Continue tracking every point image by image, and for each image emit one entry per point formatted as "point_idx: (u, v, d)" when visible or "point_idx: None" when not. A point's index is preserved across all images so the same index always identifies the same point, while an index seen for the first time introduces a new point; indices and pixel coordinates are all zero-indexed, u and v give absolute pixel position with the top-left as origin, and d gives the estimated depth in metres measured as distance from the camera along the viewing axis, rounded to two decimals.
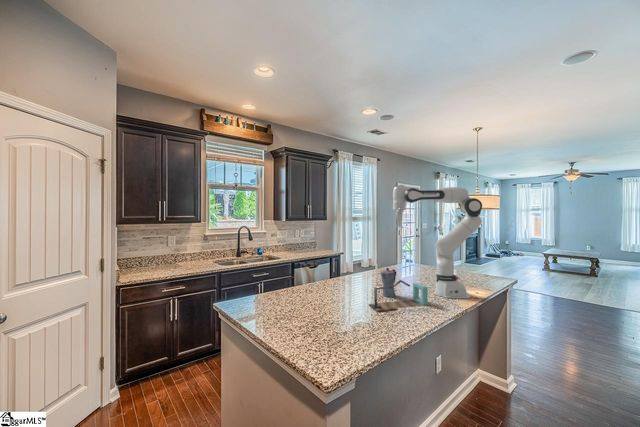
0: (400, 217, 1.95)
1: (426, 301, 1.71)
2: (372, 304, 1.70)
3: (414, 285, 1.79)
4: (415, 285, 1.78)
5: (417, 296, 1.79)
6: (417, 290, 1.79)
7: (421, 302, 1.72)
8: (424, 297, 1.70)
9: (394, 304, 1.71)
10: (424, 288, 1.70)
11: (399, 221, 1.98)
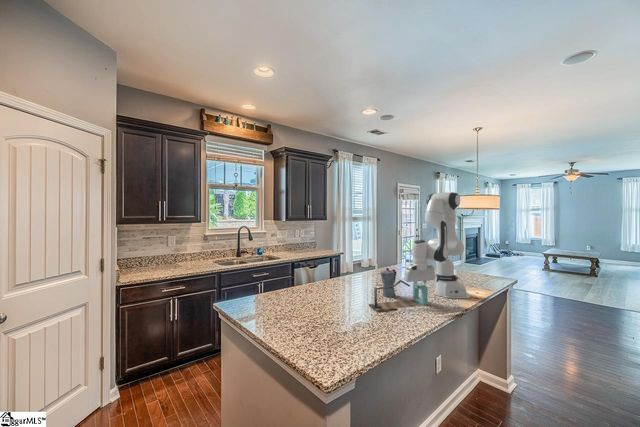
0: None
1: (426, 301, 1.71)
2: (372, 304, 1.70)
3: (414, 285, 1.79)
4: None
5: (417, 296, 1.79)
6: (417, 290, 1.79)
7: (421, 302, 1.72)
8: (424, 297, 1.70)
9: (394, 304, 1.71)
10: (424, 288, 1.70)
11: None
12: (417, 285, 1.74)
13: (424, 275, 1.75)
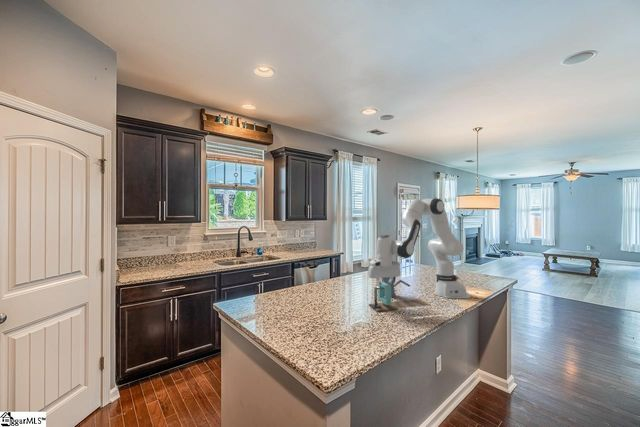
0: None
1: (390, 301, 1.65)
2: (372, 304, 1.70)
3: None
4: None
5: (382, 295, 1.74)
6: (382, 289, 1.74)
7: (385, 302, 1.66)
8: (388, 296, 1.64)
9: (394, 304, 1.71)
10: (388, 287, 1.64)
11: None
12: (379, 282, 1.68)
13: (388, 271, 1.69)
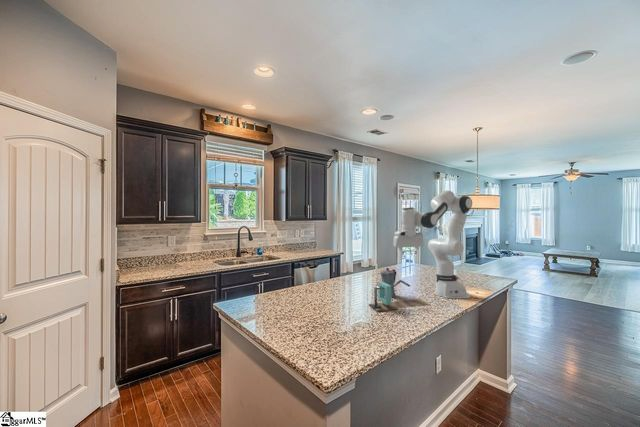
0: None
1: (390, 300, 1.65)
2: (372, 304, 1.70)
3: (379, 284, 1.73)
4: (380, 284, 1.72)
5: (382, 295, 1.74)
6: (382, 289, 1.74)
7: (385, 302, 1.66)
8: (388, 296, 1.64)
9: (394, 304, 1.71)
10: (388, 287, 1.64)
11: None
12: (402, 251, 1.78)
13: (413, 241, 1.79)
